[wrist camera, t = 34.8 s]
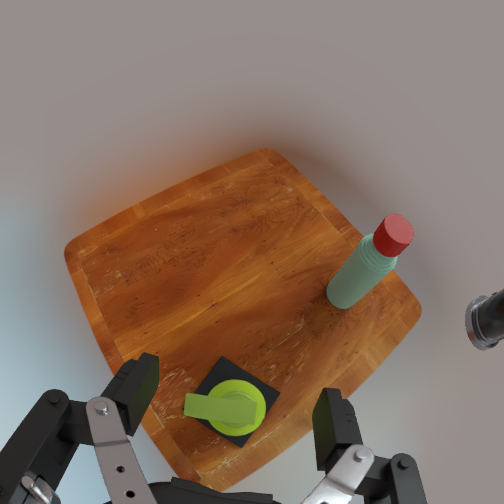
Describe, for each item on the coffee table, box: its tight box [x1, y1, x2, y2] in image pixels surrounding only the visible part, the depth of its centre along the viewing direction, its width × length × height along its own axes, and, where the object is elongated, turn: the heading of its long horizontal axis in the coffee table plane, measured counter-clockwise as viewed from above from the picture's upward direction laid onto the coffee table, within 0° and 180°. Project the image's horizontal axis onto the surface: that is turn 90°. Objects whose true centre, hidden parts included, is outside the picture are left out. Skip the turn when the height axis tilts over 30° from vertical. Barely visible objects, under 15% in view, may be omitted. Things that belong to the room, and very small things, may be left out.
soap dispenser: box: [184, 380, 266, 436], centre depth 28 cm, size 6×7×20 cm
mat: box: [183, 356, 280, 448], centre depth 37 cm, size 10×10×1 cm
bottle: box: [326, 233, 398, 309], centre depth 38 cm, size 6×6×19 cm
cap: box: [373, 214, 414, 258], centre depth 31 cm, size 4×4×3 cm
